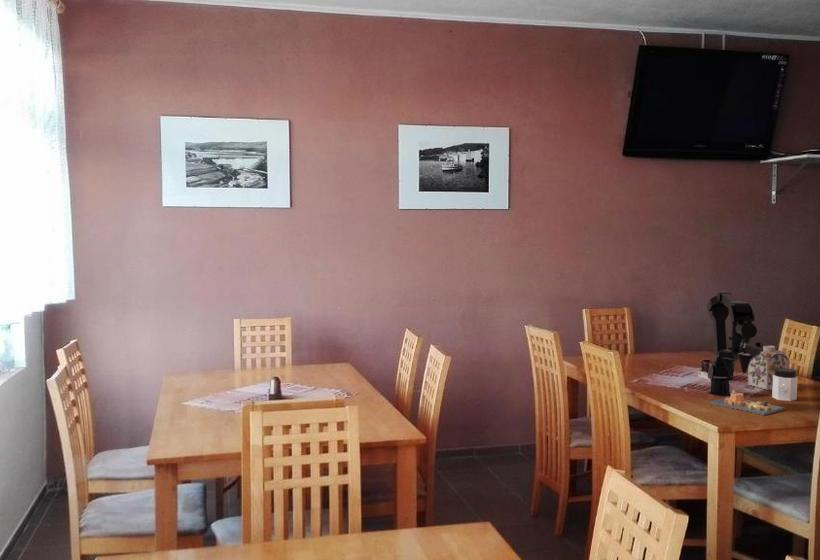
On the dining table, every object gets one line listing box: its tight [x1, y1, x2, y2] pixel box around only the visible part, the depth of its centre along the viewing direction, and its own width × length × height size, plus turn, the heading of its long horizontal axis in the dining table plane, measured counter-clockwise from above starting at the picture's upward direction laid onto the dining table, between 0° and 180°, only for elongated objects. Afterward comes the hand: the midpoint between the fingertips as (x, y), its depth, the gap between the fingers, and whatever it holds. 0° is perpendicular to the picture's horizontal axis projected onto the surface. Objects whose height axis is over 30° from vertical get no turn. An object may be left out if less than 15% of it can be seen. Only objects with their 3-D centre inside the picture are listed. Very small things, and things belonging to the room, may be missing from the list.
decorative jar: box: [747, 345, 790, 391], centre depth 324 cm, size 12×12×18 cm
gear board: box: [710, 389, 785, 416], centre depth 288 cm, size 22×14×4 cm, turn 35°
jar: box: [771, 367, 799, 402], centre depth 302 cm, size 9×8×12 cm
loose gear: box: [725, 391, 750, 406], centre depth 290 cm, size 9×9×4 cm
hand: (737, 374), depth 289 cm, fingers open, 9 cm apart
